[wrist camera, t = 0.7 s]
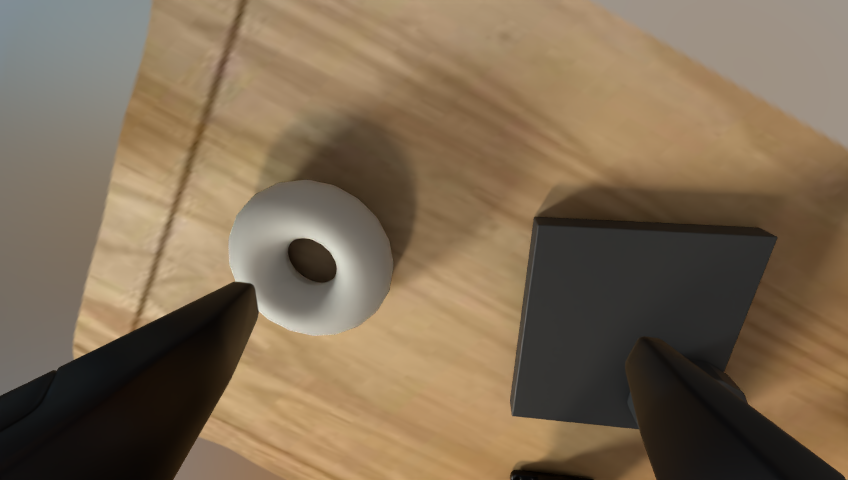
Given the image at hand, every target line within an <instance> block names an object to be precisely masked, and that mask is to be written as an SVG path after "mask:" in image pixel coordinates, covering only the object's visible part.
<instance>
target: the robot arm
mask: <svg viewBox="0 0 848 480" xmlns="http://www.w3.org/2000/svg"><path fill="white" fill-rule="evenodd" d="M257 318H258V303H257V297H256V290H255V287H254V285H253V284H251V283H246V282H238V281H237V282H233V283H230V284H228V285H226V286H224V287H222V288H220V289H218V290H216V291H214V292H212V293H210V294H208V295H206V296H204V297H202V298H200V299H198V300H196V301H194V302H192V303H190V304H187V305H185V306H183V307H181V308H179V309H177V310H175V311H173V312H171V313H169V314H167V315H165V316H163V317H161V318H159V319H157V320H155V321H153V322H151V323H149V324H147V325H145V326H143V327H141V328H139V329H137V330H134V331H132V332H130V333H128V334H126V335H124V336H122V337H120V338H118V339H116V340H114V341H112V342H110V343H108V344H106V345H104V346H102V347H100V348H98V349H96V350H94V351H92V352H90V353H88V354H85V355H83V356H81V357H79V358H77V359H75V360H73V361H71V362H69V363H67V364H65V365H63V366H61V367H59V368H58V370H57V371H55V370H53V371H51V372H49V373H47V374H45V375H42V376H41V377H38V378H36V379H34V380H32V381H30V382H28V383H26V384H24V385H22V386H20V387H18V388H16V389H14V390H11V391H9V392H7V393H5V394H3V395H1V396H0V480H173V479H174V477H175V476H176V474H177V472H178V471H179V469H180V467H181V465H182V463H183V462H184V460H185V458H186V457H187V455H188V453H189V451H190V449H191V448H192V446H193V444H194V443H195V441H196V439H197V437H198V436H199V434H200V432H201V430H202V429H203V427H204V425H205V424H206V422H207V420H208V418H209V417H210V415H211V413H212V411H213V410H214V408H215V406H216V404H217V403H218V401H219V399H220V397H221V396H222V394H223V392H224V390H225V389H226V387H227V385H228V383H229V381H230V380H231V378H232V375H233V373H234V371H235V369H236V367H237V365H238V362H239V360H240V358H241V355H242V353H243V351H244V349H245V346H246V344H247V342H248V339H249V337H250V335H251V333H252V330H253V328H254V326H255V323H256V321H257ZM625 371H626V376H627V380H628V384H629V388H630V392H631V396H632V401H633V405H634V409H635V413H636V417H637V421H638V425H639V429H640V433H641V436H642V439H643V442H644V445H645V448H646V451H647V454H648V457H649V460H650V463H651V465H652V468H653V471H654V474H655V477H656V480H846V479H845V477H844V476H843V475H842V474H841V473H839V472H838V471H837V470H835V469H834V468H833V467H831V466H830V465H829V464H827V463H826V462H825V461H823V460H822V459H821V458H819V457H818V456H817V455H815V454H814V453H813V452H811V451H810V450H809V449H807V448H806V447H805V446H803V445H802V444H801V443H799V442H798V441H797V440H795V439H794V438H793V437H791V436H790V435H789V434H787V433H786V432H785V431H783V430H782V429H781V428H779V427H778V426H777V425H775V424H774V423H773V422H771V421H770V420H769V419H767V418H766V417H765V416H763V415H762V414H761V413H759V412H758V411H757V410H755V409H754V408H753V407H751V406H750V405H749V404H747V403H746V402H745V401H743V400H742V399H740V398H739V397H738V396H736V395H735V394H734V393H732V392H731V391H730V390H728V389H727V388H726V387H724V386H723V385H722V384H720V383H719V382H718V381H716V380H715V379H714V378H712V377H711V376H710V375H708V374H707V373H706V372H704V371H703V370H702V369H700V368H699V367H698V366H696V365H695V364H694V363H692V362H691V361H690V360H688V359H687V358H686V357H684V356H683V355H682V354H680V353H679V352H678V351H676V350H675V349H674V348H672V347H671V346H670V345H668V344H667V343H666V342H664V341H663V340H662V339H659V338H654V337H646V336H642V337H640V338H639V339H638V340H637V341H636V343H635V345H634V347H633V349H632V350H631V352H630V354H629V356H628V358H627V360H626V363H625ZM510 480H593V479H588V478H579V477H571V476H563V475H554V474H546V473H537V472H529V471H521V470H514V471H512V472H511V475H510Z"/></svg>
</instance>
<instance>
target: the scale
mask: <svg viewBox="0 0 848 480" xmlns="http://www.w3.org/2000/svg"><path fill="white" fill-rule="evenodd" d="M776 240H777V236H775V235H773V234H771V233H769V232H767V231H765V230H763V229H760V228H754V227H733V226H713V225H692V224H672V223H651V222H631V221H610V220H589V219H569V218H548V217H534V222H533V229H532V237H531V244H530V252H529V260H528V267H527V275H526V283H525V290H524V298H523V306H522V313H521V321H520V329H519V336H518V344H517V352H516V359H515V367H514V374H513V382H512V390H511V397H510V404H511V413H512V416H517V417H527V418H536V419H546V420H556V421H565V422H575V423H584V424H594V425H604V426H613V427H623V428H632V429H639V425H638V421H637V417H636V413H635V409H634V405H633V401H632V396H631V392H630V388H629V384H628V380H627V376H626V371H625V363H626V360H627V358H628V356H629V354H630V352H631V350H632V349H633V347H634V345H635V343H636V341H637V340H638V339H639V338H640V337H642V336H646V337H654V338H659V339H662V340H663V341H664V342H666V343H667V344H668V345H670V346H671V347H672V348H674V349H675V350H676V351H678V352H679V353H680V354H682V355H683V356H684V357H686V358H687V359H688V360H690V361H691V362H692V363H694V364H695V365H696V366H698V367H699V368H700V369H702V370H703V371H704V372H706V373H707V374H708V375H710V376H711V377H712V378H714V379H715V380H716V381H718V382H719V383H720V384H722V385H723V386H724V387H726V388H727V389H728V390H730V391H731V392H732V393H734V394H735V395H736V396H738V397H739V398H740V399H742V400H743V401H745V402H746V403H747V401H746V398H745V395H744V393H743V392H742V391H741V390H740V389H739V387H738V386H737V385H736V384H735V383H734V382H733V381H732V380H731V378H730V377H729V376H728V375H727V374H726V373H724V370H725V368H726V365H727V363H728V360H729V358H730V355H731V353H732V350H733V348H734V345H735V343H736V340H737V338H738V335H739V333H740V330H741V328H742V325H743V323H744V320H745V318H746V315H747V313H748V310H749V308H750V305H751V303H752V300H753V298H754V295H755V293H756V290H757V288H758V285H759V283H760V280H761V278H762V275H763V273H764V270H765V268H766V265H767V263H768V260H769V258H770V255H771V253H772V250H773V248H774V245H775V243H776ZM747 404H748V403H747Z"/></svg>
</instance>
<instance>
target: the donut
mask: <svg viewBox="0 0 848 480" xmlns="http://www.w3.org/2000/svg"><path fill="white" fill-rule="evenodd" d="M300 238H308V239H312V240H314V241H316V242H318V243H320V244H322V245H323V246H324V247H325V248H326V249H327V250H328V251H329V252H330V253H331V254H332V256H333V258H334V259H335V261H336V266H337V273H336V276H335V278H334V279H332V280H331V281H328V282H324V283H319V282H315V281H311V280H309V279H307V278H305V277H303V276H302V275H301V274H300V273H299V272H297V271H296V270H295V268H294V267H293V265H292V264H291V262H290V259H289V256H288V248H289V245H290V243H291V242H292V241H293V240H295V239H300ZM229 264H230V267H231V270H232V272H233V275H234V278H235V281H236V282H237V281H238V282H246V283H251V284H253V285H254V287H255V290H256V297H257V303H258V311H259V312H260V313H261V314H263V315H264V316H265V317H266V318H267V319H269V320H270V321H272V322H274V323H276V324H278V325H280V326H282V327H284V328H286V329H288V330H290V331H294V332H299V333H303V334H308V335H312V336H315V335H335V334H338V333H341V332H343V331H346V330H349V329H352V328H355V327H357V326H360V325H361V324H362V323H363V322H364V321H366V320H367V319H368V318H369V317H371V316H372V315H373V314H374V313H376V311H377V310H378V309H379V307H380V305H381V304H382V302H383V300H384V299H385V297H386V295H387V294H388V292H389V290H390V284H391V278H392V272H393V258H392V252H391V247H390V241H389V239H388V237H387V235H386V233H385V231H384V229H383V228H382V226H381V224H380V222H379V220H378V218H377V217H376V216H375V215H374V214H373V213H372V212H371V211H370V210H369V209H368V208H367V207H366V206H365V205H364V204H363V203H362V202H361V201H360V200H359V199H358V198H356V197H355V196H353V195H351V194H349V193H347V192H345V191H344V190H342V189H340V188H338V187H336V186H335V185H331V184H326V183H322V182H317V181H312V180H298V181H290V182H281V183H277V184H275V185H273V186H271V187H269V188H267V189H265V190H263V191H261V192H259V193H257V194H255V195H254V196H253V197H252V198H251V199H250V200H249V201H248V203H247V204H246V205H245V206H244V207H243V208H242V210H241V211H240V212H239V213H238V214H237V216H236V219H235V221H234V224H233V227H232V230H231V233H230V236H229Z"/></svg>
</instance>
